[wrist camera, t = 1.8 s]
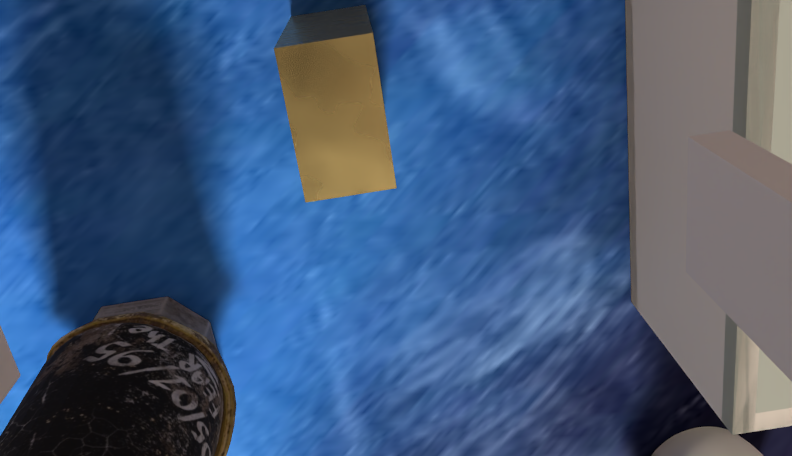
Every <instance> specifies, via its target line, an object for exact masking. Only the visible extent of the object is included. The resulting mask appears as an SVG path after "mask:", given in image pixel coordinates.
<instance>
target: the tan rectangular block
mask: <svg viewBox="0 0 792 456" xmlns="http://www.w3.org/2000/svg"><path fill="white" fill-rule="evenodd" d="M274 51H275V56H276V60H277V65H278V70H279V75H280V80H281V85H282V90H283V95H284V99H285V104H286V109H287V114H288V119H289V124H290V129H291V133H292V138H293V143H294V148H295V153H296V158H297V163H298V168H299V172H300V177H301V182H302V187H303V192H304V197H305V202H312V201H318V200H324V199H331V198H337V197H343V196H350V195H356V194H362V193H369V192H375V191H381V190H387V189H394V188H396V181H395V175H394V168H393V162H392V155H391V148H390V142H389V135H388V129H387V122H386V115H385V109H384V102H383V96H382V89H381V83H380V76H379V69H378V63H377V56H376V50H375V43H374V37H373V31H372V28H371V24H370V20H369V17H368V13H367V9H366V6H365V5H361V6H355V7H349V8H342V9H336V10H329V11H323V12H317V13H310V14H304V15H297V16H291V18H290V20H289V21H288V23H287V25H286V27H285V29H284V31H283V33H282V34H281V36H280V38H279V40H278V42H277V44H276V46H275V47H274Z"/></svg>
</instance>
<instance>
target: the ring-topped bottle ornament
mask: <svg viewBox="0 0 792 456" xmlns="http://www.w3.org/2000/svg"><path fill="white" fill-rule="evenodd" d="M235 411H236V400H235V392H234V386H233V383H232V381H231V378H230V376H229V373H228V371H227V368H226V366H225V364H224V361H223V359H222V357H221V355H220V353H219V352H218V350H217V346H216V343H215V339H214V335H213V332H212V328H211V324H210V322H209V321H208V320H206V319H205V318H203V317H201V316H200V315H198V314H196V313H195V312H193V311H191V310H190V309H188V308H186V307H185V306H183V305H181V304H180V303H178V302H176V301H175V300H173V299H171V298H170V297H161V298H155V299H148V300H142V301H135V302H129V303H122V304H116V305H109V306H103V307H101V308H100V310H99V312H98V313H97V315H96V316H95V318H94V319H93V321H92V322H89V323H87V324H85V325H83V326H81V327H79V328H77V329H75V330H73V331H71V332H69V333H68V334H66V335H65V336H63V337H61V338H60V339H59V340H58V341H57V342H56V343H55V344H54V345H53V346H52V348H51V350H50V351H49V353H48V355H47V361H46V363H45V364H44V366H43V367H42V369H41V370H40V372H39V374H38V375H37V377H36V379H35V380H34V382H33V384H32V385H31V387H30V388H29V390H28V392H27V393H26V395H25V397H24V398H23V400H22V402H21V403H20V405H19V406H18V408H17V410H16V411H15V413H14V415H13V416H12V418H11V420H10V421H9V423H8V425H7V426H6V428H5V429H4V431H3V433H2V434H1V436H0V456H226V455H227V452H228V449H229V446H230V442H231V438H232V433H233V428H234V422H235Z"/></svg>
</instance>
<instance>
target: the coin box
mask: <svg viewBox="0 0 792 456" xmlns="http://www.w3.org/2000/svg"><path fill="white" fill-rule="evenodd" d="M625 11H626V61H627V111H628V161H629V211H630V261H631V302H632V303H633V305H634V306H635V307H636V309H637V310H638V311H639V313H640V314H641V315H642V317H643V318H644V319H645V321H646V322H647V323H648V325H649V326H650V327H651V329H652V330H653V331H654V332H655V334H656V335H657V336H658V338H659V339H660V340H661V342H662V343H663V344H664V346H665V347H666V348H667V350H668V351H669V352H670V354H671V355H672V356H673V358H674V359H675V360H676V362H677V363H678V364H679V365H680V367H681V368H682V369H683V371H684V372H685V373H686V375H687V376H688V377H689V379H690V380H691V381H692V383H693V384H694V385H695V387H696V388H697V389H698V391H699V392H700V393H701V395H702V396H703V397H704V398H705V400H706V401H707V402H708V404H709V405H710V406H711V408H712V409H713V410H714V412H715V413H716V414H717V416H718V417H719V418H720V420H721V421H722V422H723V424H724V425H725V426H726V428H727V429H728V430H729V432H730V433H731V434H732V435H736V434H743V433H749V432H755V431H761V430H768V429H774V428H780V427H786V426H792V381H791V380H790V379H789V378H788V377H787V376H786V375H785V374H784V373H783V372H782V371H781V370H780V369H779V368H778V367H777V366H776V365H775V364H774V363H773V362H772V361H771V360H770V359H769V358H768V357H767V356H766V354H765V353H764V352H763V351H762V350H761V349H760V348H759V347H758V346H757V345H756V344H755V343H754V342H753V341H752V340H751V339H750V338H749V337H748V336H747V335H746V334H745V333H744V332H743V331H742V330H741V329H740V328H739V326H738V325H737V324H736V323H735V322H734V321H733V320H732V319H731V318H730V317H729V316H728V315H727V314H726V313H725V312H724V311H723V310H722V309H721V308H720V307H719V306H718V305H717V304H716V303H715V302H714V301H713V299H712V298H711V297H710V296H709V295H708V294H707V293H706V292H705V291H704V290H703V289H702V288H701V287H700V286H699V285H698V284H697V283H696V282H695V281H694V280H693V279H692V278H691V277H690V276H689V275H688V274H687V272H686V229H687V166H688V136H695V135H701V134H707V133H714V132H720V131H727V130H731V131H732V132H734V133H736V134H738V135H740V136H742V137H743V138H745V139H747V140H749V141H751V142H752V143H754V144H756V145H758V146H760V147H762V148H763V149H765V150H767V151H769V152H771V153H772V154H774V155H776V156H778V157H780V158H781V159H783V160H785V161H787V162H789V163H791V164H792V0H625Z"/></svg>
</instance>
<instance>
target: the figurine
mask: <svg viewBox="0 0 792 456" xmlns="http://www.w3.org/2000/svg"><path fill="white" fill-rule="evenodd" d="M651 456H763V455H762V454H761V453H760V452H759V451H758V450H757V449H756V448H755V447H754V446H753V445H751V444H750V443H749V442H747V441H746V440H745V439H743V438H742V437H740V436H739V435H737V434H736V435H732V434H731V433H730V432H729V430H727V429H724V428H720V427H711V426H706V427H697V428H692V429H689V430H685V431H683V432H680V433H678V434H676V435H674V436H672V437H671V438H669V439H668V440H666V441H665V442H664V443H662V444H661V445H660V446H659V447H658V448H657V449H656V450H655V451H654V453H653V454H652V455H651Z"/></svg>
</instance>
